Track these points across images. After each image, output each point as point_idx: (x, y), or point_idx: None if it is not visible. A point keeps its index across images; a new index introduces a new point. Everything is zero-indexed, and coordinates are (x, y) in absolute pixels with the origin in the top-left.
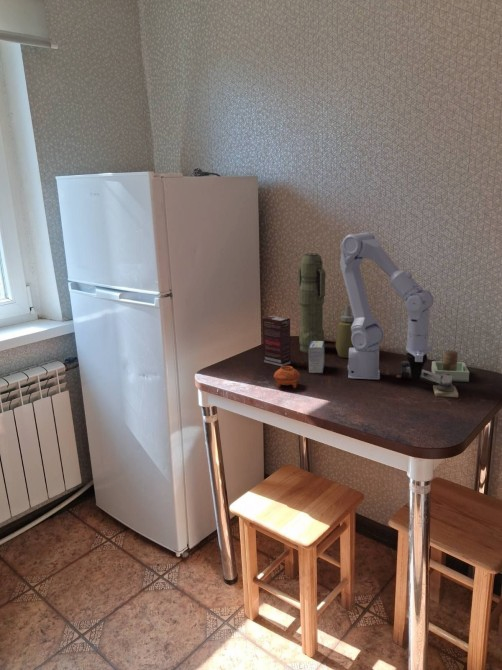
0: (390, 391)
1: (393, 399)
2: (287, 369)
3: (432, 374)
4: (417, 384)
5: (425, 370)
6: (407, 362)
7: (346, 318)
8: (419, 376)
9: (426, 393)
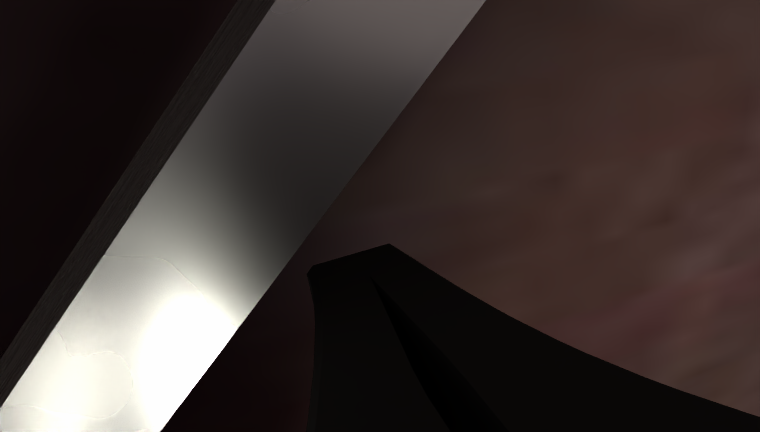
0: None
1: (706, 316)
2: None
3: (435, 6)
4: None
5: (123, 247)
6: None
7: None
8: (418, 269)
9: (545, 39)
